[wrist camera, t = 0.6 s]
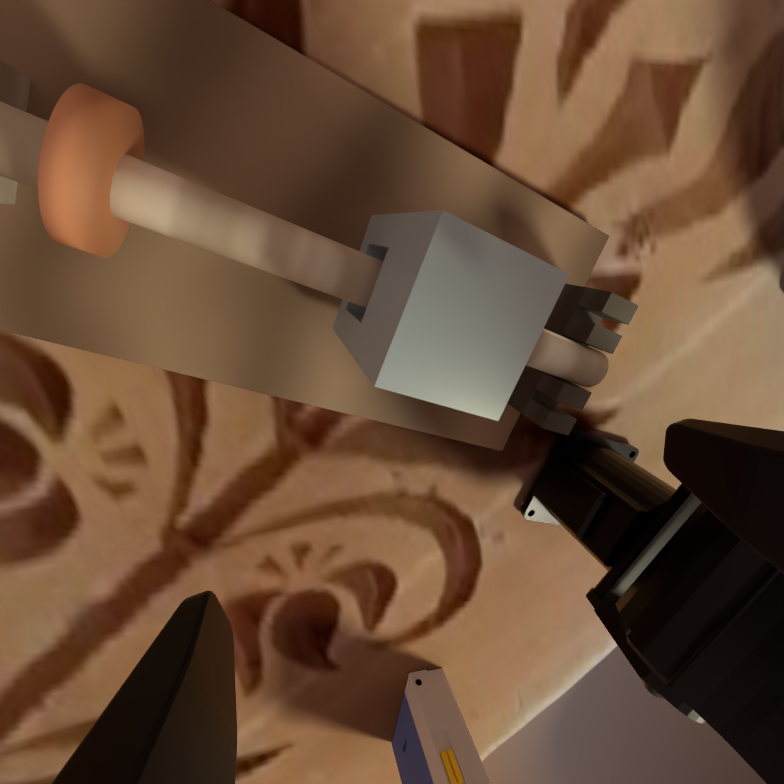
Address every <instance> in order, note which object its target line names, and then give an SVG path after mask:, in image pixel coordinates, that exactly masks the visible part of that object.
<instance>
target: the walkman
mask: <svg viewBox="0 0 784 784" xmlns="http://www.w3.org/2000/svg"><path fill="white" fill-rule="evenodd" d="M392 747H393V751H394V754H395V758H396V762H397V766H398V770H399V774H400V777H401V781H402V784H491V783H490V781H489V778H488V776H487V774H486V771H485V769H484V767H483V764H482V762H481V759H480V757H479V754H478V752H477V750H476V747H475V745H474V742H473V740H472V738H471V735H470V733H469V731H468V728H467V726H466V723H465V721H464V719H463V716H462V714H461V711H460V709H459V707H458V704H457V702H456V699H455V697H454V695H453V692H452V690H451V688H450V685H449V683H448V680H447V678H446V676H445V673H444V671H443V668H440V669H435V670H430V671H427V669H426V670H421V671H416V672H411V673H409V676H408V680H407V684H406V688H405V693H404V697H403V701H402V705H401V708H400V712H399V716H398V720H397V724H396V728H395V732H394V736H393V740H392Z"/></svg>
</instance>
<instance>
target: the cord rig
mask: <svg viewBox="0 0 784 784" xmlns="http://www.w3.org/2000/svg"><path fill="white" fill-rule="evenodd" d="M437 210H444V211H446V212H448V213H450V214H452V215H454V216H456V217H458V218H460V219H462V220H464V221H466V222H468V223H470V224H472V225H474V226H475V227H477V228H479V229H481V230H483V231H485V232H487V233H489V234H491V235H493V236H495V237H497V238H499V239H501V240H503V241H505V242H507V243H509V244H511V245H513V246H515V247H517V248H519V249H521V250H523V251H525V252H527V253H529V254H531V255H533V256H535V257H537V258H539V259H541V260H543V261H545V262H547V263H548V264H550V265H552V266H554V267H556V268H558V269H560V270H562V271H564V272H566V273H568V274H570V275H569V277H568V279H567V281H566V283H565V285H564V287H563V289H562V291H561V293H560V296H559V298H558V300H557V302H556V304H555V306H554V308H553V310H552V312H551V314H550V316H549V318H548V320H547V322H546V324H545V326H544V328H543V330H542V333H541V335H540V337H539V339H538V341H537V343H536V345H535V347H534V349H533V351H532V353H531V355H530V357H529V359H528V361H527V363H526V365H525V367H524V369H523V372H522V374H521V376H520V378H519V380H518V382H517V384H516V386H515V388H514V390H513V392H512V394H511V396H510V398H509V400H508V402H507V404H506V406H505V409H504V411H503V413H502V415H501V417H500V419H499V421H496V420H492V419H489V418H485V417H482V416H478V415H475V414H471V413H467V412H464V411H460V410H457V409H453V408H449V407H446V406H442V405H439V404H435V403H431V402H428V401H424V400H421V399H417V398H413V397H410V396H406V395H403V394H399V393H396V392H392V391H388V390H385V389H381V388H378V387H374V385H373V384H372V383H371V381H370V380H369V379H368V377H367V376H366V374H365V373H364V372H363V370H362V369H361V367H360V366H359V365H358V363H357V362H356V360H355V359H354V358H353V356H352V355H351V354H350V352H349V351H348V349H347V348H346V347H345V345H344V344H343V342H342V341H341V340H340V338H339V337H338V335H337V334H336V333H335V331H334V330H333V326H334V323H335V320H336V317H337V314H338V311H339V308H340V306H341V303H342V300H346V301H349V302H352V303H354V304H357V305H360V306H363V307H365V308H367V305H368V303H369V300H370V297H371V295H372V292H373V289H374V286H375V284H376V281H377V278H378V275H379V273H380V270H381V267H382V264H383V262H384V261H381V260H379V259H376V258H374V257H372V256H369V255H367V254H364V253H362V252H360V248H361V245H362V242H363V239H364V236H365V234H366V231H367V228H368V225H369V222H370V219H371V216H372V215H381V214H395V213H409V212H423V211H437ZM608 238H609V236H608V235H607V234H605V233H603V232H602V231H600V230H598V229H596V228H595V227H593V226H591V225H590V224H588V223H586V222H585V221H583V220H581V219H580V218H578V217H576V216H574V215H573V214H571V213H569V212H568V211H566V210H564V209H563V208H561V207H559V206H558V205H556V204H554V203H552V202H551V201H549V200H547V199H546V198H544V197H542V196H541V195H539V194H537V193H536V192H534V191H532V190H530V189H529V188H527V187H525V186H524V185H522V184H520V183H519V182H517V181H515V180H514V179H512V178H510V177H508V176H507V175H505V174H503V173H502V172H500V171H498V170H497V169H495V168H493V167H492V166H490V165H488V164H486V163H485V162H483V161H481V160H480V159H478V158H476V157H475V156H473V155H471V154H470V153H468V152H466V151H464V150H463V149H461V148H459V147H458V146H456V145H454V144H453V143H451V142H449V141H448V140H446V139H444V138H442V137H441V136H439V135H437V134H436V133H434V132H432V131H431V130H429V129H427V128H426V127H424V126H422V125H420V124H419V123H417V122H415V121H414V120H412V119H410V118H409V117H407V116H405V115H404V114H402V113H400V112H398V111H397V110H395V109H393V108H392V107H390V106H388V105H387V104H385V103H383V102H382V101H380V100H378V99H376V98H375V97H373V96H371V95H370V94H368V93H366V92H365V91H363V90H361V89H360V88H358V87H356V86H354V85H353V84H351V83H349V82H348V81H346V80H344V79H343V78H341V77H339V76H338V75H336V74H334V73H332V72H331V71H329V70H327V69H326V68H324V67H322V66H321V65H319V64H317V63H316V62H314V61H312V60H310V59H309V58H307V57H305V56H304V55H302V54H300V53H299V52H297V51H295V50H294V49H292V48H290V47H288V46H287V45H285V44H283V43H282V42H280V41H278V40H277V39H275V38H273V37H272V36H270V35H268V34H266V33H265V32H263V31H261V30H260V29H258V28H256V27H255V26H253V25H251V24H250V23H248V22H246V21H245V20H243V19H241V18H239V17H238V16H236V15H234V14H233V13H231V12H229V11H228V10H226V9H224V8H223V7H221V6H219V5H217V4H216V3H214V2H212V1H211V0H0V330H3V331H7V332H11V333H16V334H20V335H24V336H28V337H32V338H36V339H40V340H45V341H49V342H53V343H57V344H61V345H65V346H69V347H73V348H78V349H82V350H86V351H90V352H94V353H98V354H102V355H106V356H111V357H115V358H119V359H123V360H127V361H131V362H135V363H140V364H144V365H148V366H152V367H156V368H160V369H164V370H168V371H173V372H177V373H181V374H185V375H189V376H193V377H197V378H202V379H206V380H210V381H214V382H218V383H222V384H226V385H230V386H235V387H239V388H243V389H247V390H251V391H255V392H259V393H263V394H268V395H272V396H276V397H280V398H284V399H288V400H292V401H297V402H301V403H305V404H309V405H313V406H317V407H321V408H325V409H330V410H334V411H338V412H342V413H346V414H350V415H354V416H358V417H363V418H367V419H371V420H375V421H379V422H383V423H387V424H392V425H396V426H400V427H404V428H408V429H412V430H416V431H420V432H425V433H429V434H433V435H437V436H441V437H445V438H449V439H453V440H458V441H462V442H466V443H470V444H474V445H478V446H482V447H487V448H491V449H495V450H499V451H502V450H503V448H504V446H505V444H506V442H507V440H508V438H509V436H510V434H511V432H512V430H513V428H514V426H515V424H516V422H517V420H518V418H519V416H520V414H523V415H524V416H526V417H527V418H528V419H530V420H531V421H533V422H534V423H535V424H537V425H538V426H539V427H541V428H543V429H547V430H550V431H554V432H557V433H561V434H564V435H569V433H570V432H571V430H572V428H573V426H574V424H575V422H576V421H577V419H575V418H574V417H572V416H570V415H569V414H567V413H565V412H564V411H562V410H561V409H559V408H557V407H556V406H557V404H558V402H561V403H564V404H568V405H571V406H574V407H577V408H580V409H583V408H584V406H585V404H586V402H587V400H588V398H589V397H590V395H591V392H589V391H587V390H585V389H583V388H581V387H579V386H577V385H575V384H573V383H571V382H574V383H576V384H579V385H582V386H585V387H592V386H595V385H597V384H598V383H599V382H601V381H602V380H603V378H604V377H605V375H606V373H607V370H608V360H607V357H606V356H605V355H604V354H603V353H601V352H599V351H597V350H594V349H592V348H589V347H588V345H589V346H592V347H595V348H598V349H600V350H603V351H606V352H608V353H611V354H613V352H614V350H615V349H616V347H617V345H618V343H619V341H620V339H621V337H622V336H621V335H619V334H617V333H614V332H612V331H610V330H608V329H606V328H603V327H601V326H599V324H600V322H601V320H602V318H606V319H610V320H613V321H617V322H621V323H624V324H628V325H629V323H630V321H631V319H632V317H633V315H634V313H635V312H636V310H637V308H638V305H636V304H634V303H632V302H630V301H628V300H626V299H624V298H622V297H620V296H618V295H616V294H614V293H612V292H607V291H602V290H597V289H592V288H587V287H584V286H585V284H586V282H587V280H588V278H589V276H590V274H591V272H592V270H593V268H594V266H595V264H596V262H597V260H598V258H599V256H600V254H601V252H602V250H603V248H604V246H605V244H606V242H607V240H608ZM569 381H571V382H569Z"/></svg>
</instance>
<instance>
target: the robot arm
mask: <svg viewBox="0 0 784 784" xmlns="http://www.w3.org/2000/svg"><path fill="white" fill-rule="evenodd" d="M638 452H639V451H638V449H637V448H635V447H634V446H632V445H629V444H626V443H623V442H619V441H616V440H613V439H609V438H606V437H602V436H599V435H596V434H592V433H589V432H586V431H582V430H579V429H576V428H572V430H571V432H570V433H569V435H564V434H561V436H560V438H559V440H558V442H557V443H556V445H555V447H554V449H553V451H552V453H551V455H550V456H549V458H548V460H547V462H546V464H545V466H544V468H543V470H542V471H541V473H540V475H539V477H538V479H537V481H536V483H535V484H534V486H533V488H532V490H531V492H530V494H529V496H528V498H527V499H526V501H525V503H524V505H523V507H522V509H521V514H522V515H523V516H524V517H525V518H526V519H527V520H533V521H539V522H545V523H551V524H558V525H562V526H563V527H564V528H565V529H566V530H567V531H568V532H569V533H570V534H571V535H572V536H573V537H574V538H575V539H576V540H577V541H578V542H579V543H580V544H581V545H582V546H583V547H584V548H585V549H586V550H587V551H588V552H589V553H590V554H591V555H592V556H593V557H594V558H595V559H596V560H597V561H598V562H599V563H600V564H601V565H603V566H604V567H605V568H606V569H607V570H608V572H607V574H606V575H605V576H604V577H603V578H602V579H601V581H600V582H599V583H598V584H597V585H596V587H595V588H591V589H590V591H589V592H588V593H587V594H586V597H587V598H588V600H589V601H590V603H591V604H592V606H593V607H594V609H595V610H594V611H595V613H596V614H597V616H598V617H599V618H600V620H601V621H602V623H603V624H604V626H605V627H606V629H607V630H608V632H609V633H610V635H611V636H612V637H613V639H614V640H615V642H616V643H617V645H618V646H619V647H620V649H621V650H622V652H623V653H624V655H625V656H626V658H627V659H628V661H629V662H630V664H631V665H632V667H633V668H634V669H635V671H636V672H637V674H638V675H639V677H640V678H641V680H642V682H643V683H644V686H645V687H646V688H647V690H648V691H649V692H650V693H651V694H652V695H654V696H655V697H658V698H662V699H666V700H667V701H668V702H670V703H671V704H672V705H673V706H674V707H675V708H677V709H678V710H679V711H681V712H682V713H683V714H685V715H686V716H687V717H689V718H691V719H692V720H694V721H696V722H699V723H706V722H707V723H708V724H709V725H710V726H711V727H712V728H713V729H714V730H715V731H717V732H718V733H719V734H720V735H721V736H722V737H723V738H724V739H725V740H726V741H727V742H728V743H729V744H730V745H731V746H732V747H733V748H734V749H735V750H736V752H738V754H739V755H740V756H741V757H742V758H743V759H744V760H745V761H746V762H747V763H748V764H749V765H750V766H751V767H752V768H753V769H754V770H755V771H756V773H757V774H758V775H759V776H760V777H762V779H763V780H764V781H765V782H766V783H767V784H784V431H777V430H770V429H762V428H755V427H748V426H741V425H733V424H726V423H719V422H712V421H704V420H697V419H684V420H682V421H679V422H676V423H673V424H671V425H670V426H668V428H667V430H666V436H665V447H664V457H663V459H664V463H665V465H666V467H667V469H668V470H669V471H670V472H671V473H672V474H673V475H674V476H675V477H676V478H677V479H678V480H679V481H680V482H681V483H682V484H681V485H680V486H679V487H678V489H677V490H676V489H674V488H673V487H671V486H670V485H668V484H667V483H665V482H663V481H662V480H660V479H659V478H657V477H656V476H654V475H652V474H651V473H649V472H648V471H646V470H645V469H643V468H641V467H640V466H638V465H637V464H635V463H634V461H635V459H636V457H637V456H638ZM236 755H237V717H236V692H235V668H234V643H233V631H232V627H231V624H230V621H229V619H228V618H227V616H226V614H225V612H224V610H223V608H222V606H221V604H220V603H219V601H218V599H217V597H216V595H215V594H214V593H213V592H212V591H205V592H202V593H199V594H196V595H194V596H191V597H188V598H186V599H185V600H184V601H183V602H182V603H181V604H180V605H179V607H178V608H177V610H176V611H175V612H174V614H173V615H172V617H171V618H170V619H169V621H168V622H167V624H166V625H165V626H164V628H163V629H162V630H161V632H160V633H159V635H158V636H157V637H156V639H155V640H154V642H153V643H152V644H151V646H150V647H149V649H148V650H147V651H146V653H145V654H144V656H143V657H142V658H141V660H140V661H139V663H138V664H137V665H136V667H135V668H134V670H133V671H132V672H131V674H130V675H129V676H128V678H127V679H126V681H125V682H124V683H123V685H122V686H121V688H120V689H119V690H118V692H117V693H116V695H115V696H114V697H113V699H112V700H111V702H110V703H109V704H108V706H107V707H106V709H105V710H104V711H103V713H102V714H101V716H100V717H99V718H98V720H97V721H96V722H95V724H94V725H93V727H92V728H91V729H90V731H89V732H88V734H87V735H86V736H85V738H84V739H83V741H82V742H81V743H80V745H79V746H78V748H77V749H76V750H75V752H74V753H73V755H72V756H71V757H70V759H69V760H68V762H67V763H66V764H65V766H64V767H63V768H62V770H61V771H60V773H59V774H58V775H57V777H56V778H55V780H54V781H53V782H52V784H235V773H236Z"/></svg>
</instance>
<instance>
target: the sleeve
mask: <svg viewBox="0 0 784 784" xmlns="http://www.w3.org/2000/svg"><path fill="white" fill-rule="evenodd" d="M360 252H362V253H364V254H367V255H369V256H372V257H374V258H376V259H379V260H381V261H384V262H383V264H382V267H381V270H380V273H379V275H378V278H377V281H376V284H375V286H374V289H373V292H372V295H371V297H370V300H369V303H368V305H367V308H365V307H363V306H360V305H357V304H354V303H352V302H349V301H346V300H342V303H341V306H340V308H339V311H338V314H337V317H336V320H335V323H334V326H333V330H334V331H335V333H336V334H337V335H338V337H339V338H340V340H341V341H342V342H343V344H344V345H345V347H346V348H347V349H348V351H349V352H350V354H351V355H352V356H353V358H354V359H355V360H356V362H357V363H358V365H359V366H360V367H361V369H362V370H363V372H364V373H365V374H366V376H367V377H368V379H369V380H370V381H371V383H372V384H373V385H374V387H378V388H381V389H385V390H388V391H392V392H396V393H399V394H403V395H406V396H410V397H413V398H417V399H421V400H424V401H428V402H431V403H435V404H439V405H442V406H446V407H449V408H453V409H457V410H460V411H464V412H467V413H471V414H475V415H478V416H482V417H485V418H489V419H492V420H496V421H499V419H500V417H501V415H502V413H503V411H504V409H505V406H506V404H507V402H508V400H509V398H510V396H511V394H512V392H513V390H514V388H515V386H516V384H517V382H518V380H519V378H520V376H521V374H522V372H523V369H524V367H525V365H526V363H527V361H528V359H529V357H530V355H531V353H532V351H533V349H534V347H535V345H536V343H537V341H538V339H539V337H540V335H541V333H542V330H543V328H544V326H545V324H546V322H547V320H548V318H549V316H550V314H551V312H552V310H553V308H554V306H555V304H556V302H557V300H558V298H559V296H560V293H561V291H562V289H563V287H564V285H565V283H566V281H567V279H568V277H569V275H570V274H568V273H566V272H564V271H562V270H560V269H558V268H556V267H554V266H552V265H550V264H548V263H547V262H545V261H543V260H541V259H539V258H537V257H535V256H533V255H531V254H529V253H527V252H525V251H523V250H521V249H519V248H517V247H515V246H513V245H511V244H509V243H507V242H505V241H503V240H501V239H499V238H497V237H495V236H493V235H491V234H489V233H487V232H485V231H483V230H481V229H479V228H477V227H475V226H474V225H472V224H470V223H468V222H466V221H464V220H462V219H460V218H458V217H456V216H454V215H452V214H450V213H448V212H446V211H444V210H437V211H423V212H409V213H395V214H381V215H372V216H371V219H370V222H369V225H368V228H367V231H366V234H365V236H364V239H363V242H362V245H361V248H360Z"/></svg>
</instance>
